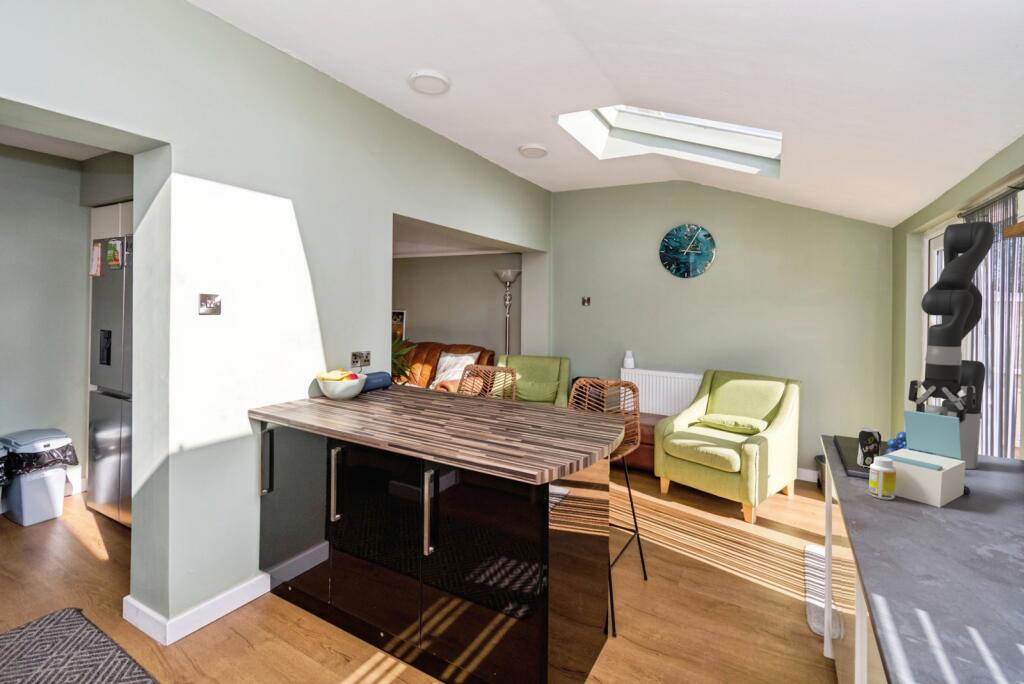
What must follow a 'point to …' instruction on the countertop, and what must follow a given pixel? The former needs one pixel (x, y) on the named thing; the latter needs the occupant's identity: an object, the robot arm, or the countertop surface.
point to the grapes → (900, 443)
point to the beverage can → (868, 446)
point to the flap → (933, 431)
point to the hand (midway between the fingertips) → (939, 419)
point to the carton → (927, 477)
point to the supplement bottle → (882, 478)
